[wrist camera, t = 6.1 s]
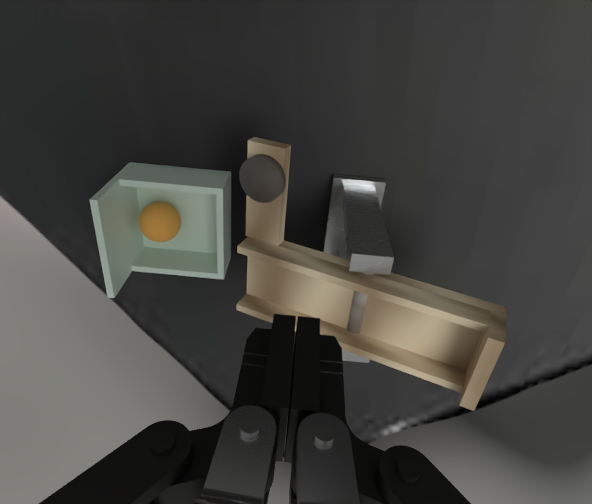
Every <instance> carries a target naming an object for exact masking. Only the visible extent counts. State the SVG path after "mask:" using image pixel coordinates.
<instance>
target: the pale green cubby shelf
mask: <svg viewBox="0 0 592 504" xmlns="http://www.w3.org/2000/svg"><path fill="white" fill-rule="evenodd" d="M154 202H165V203H168V204H170V205H172V206H173V207H174V208H175V209H176V210H177V211H178V213H179V215H180V218H181V227H180V230H179V232H178V233H177V235H176V236H175V237H174V238H172V239H171V240H169V241H166V242H155V241H152V240H150V239H148V238H147V237H145V236H144V234H143V233H142V232H141V230H140V227H139V216H140V214H141V212H142V210H143V209H144V208H145V207H146V206H147V205H149V204H151V203H154ZM90 205H91V211H92V216H93V221H94V227H95V232H96V237H97V243H98V248H99V253H100V259H101V264H102V270H103V275H104V280H105V286H106V291H107V296H108V298H115V296H116V295H117V293H118V292H119V290H120V289H121V287H122V286H123V284H124V283H125V281H126V280H127V278H128V276H129V275H130V273H131V272H132V271H138V272H149V273H160V274H171V275H181V276H192V277H203V278H214V279H224V277H225V274H226V271H227V268H228V265H229V262H230V259H231V172H230V171H219V170H209V169H198V168H187V167H177V166H166V165H155V164H145V163H134V162H129V163H128V164H127V165H126V166H125V167H124V168H123V169H122V170H121V171H120V172H119V173H117V174H116V175H115V176H114V177H113V178H112V179H111V180H110V181H109V182H108V183H107V184H106V185H105V186H104V187H102V188H101V189H100V190H99V191H98V192H97V193H96V194H95V195H94V196H93V197H92V198H91V199H90Z"/></svg>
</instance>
